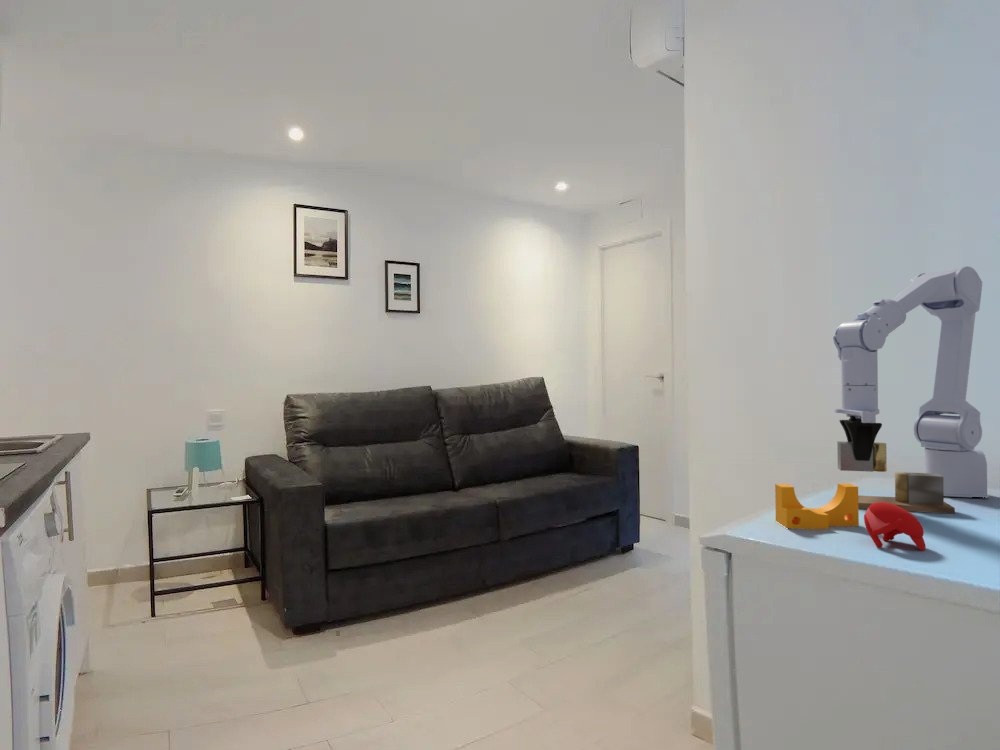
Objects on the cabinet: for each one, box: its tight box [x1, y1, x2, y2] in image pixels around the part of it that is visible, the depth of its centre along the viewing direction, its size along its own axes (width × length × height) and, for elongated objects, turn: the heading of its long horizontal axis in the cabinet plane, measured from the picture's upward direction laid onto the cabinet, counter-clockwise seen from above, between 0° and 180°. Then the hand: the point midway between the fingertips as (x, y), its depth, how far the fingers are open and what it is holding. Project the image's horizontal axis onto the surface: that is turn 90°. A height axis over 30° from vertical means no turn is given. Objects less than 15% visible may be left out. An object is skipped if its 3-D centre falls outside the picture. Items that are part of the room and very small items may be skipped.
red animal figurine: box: [863, 502, 926, 552], centre depth 86 cm, size 8×6×6 cm
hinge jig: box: [858, 472, 956, 514], centre depth 109 cm, size 17×7×6 cm, turn 70°
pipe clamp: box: [774, 483, 860, 530], centre depth 97 cm, size 12×4×6 cm, turn 87°
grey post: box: [836, 441, 888, 473], centre depth 111 cm, size 8×3×5 cm, turn 70°
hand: (860, 459), depth 111 cm, fingers closed on grey post, 3 cm apart
